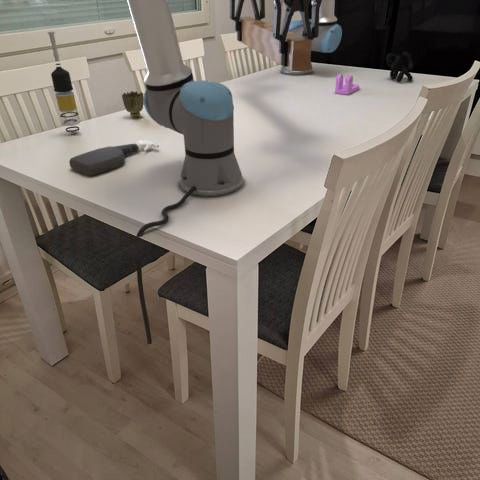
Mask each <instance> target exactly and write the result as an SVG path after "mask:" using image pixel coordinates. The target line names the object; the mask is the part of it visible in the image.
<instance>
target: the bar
mask: <svg viewBox="0 0 480 480" xmlns="http://www.w3.org/2000/svg"><path fill="white" fill-rule="evenodd" d="M239 21H240V22H241V26H242V41H238V31H236V41H238V42H240V43H242V44H243V45H245V46H247V47H248V48H250V49H252V50H253V51H256V52H257V53H259V54H261V55H262V56H264V57H266V58H268V59H270V60H271V61H273V62H275V63H276V64H278V65H280V66H282V65H281V56H282V54H280V53H279V41H278V40H277V39H274V38H273V24H272V23H268V22H265V21H263V20H258V19H255V17H252V16H240V20H239ZM281 28H282V27H280V31H281ZM285 41H287V42H288V52H287V67H285V68H287V69H289V70H291V71H303V70H310V60H311V57H312V56H311V55H312V51H311V45H312V40H311V39H308V38H305V37H303V36H300V35H297V34H295V33H292V32H290V31H288V33H287V36H286V40H285Z"/></svg>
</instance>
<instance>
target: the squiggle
mask: <svg viewBox="0 0 480 480" xmlns="http://www.w3.org/2000/svg"><path fill="white" fill-rule="evenodd" d="M401 57H402V59H401ZM391 59H392V60H391ZM393 60H394V61H393ZM385 61H386V64H387V67H390V68H391V70H390V72H389V78H390V79H391V80H395V79H396V81H397V82H399V83H400V82H402V81H403V79H404V76H406V78H407V80H408V81H412V80H413V79H414V77H413V75H412V74H411V73H410V72H409V71H410V70H412V69H413V68H414V64H413V61H412V57H411V54H410V53H409V52H408V51H403V53H402V54H401V55H396V54H394V53H392V52H390V53H387V55H386V57H385ZM406 62H407V65H408V66H407V67H405V66H404V65H405V64H406ZM400 70H401V71H400Z"/></svg>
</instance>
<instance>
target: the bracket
mask: <svg viewBox="0 0 480 480" xmlns="http://www.w3.org/2000/svg"><path fill="white" fill-rule="evenodd" d="M344 78H345V77H344V74H340V73H338V74H337V75H336V79H335V88H334V93H335V94H339V95H346V96H348V95H350V94H352V93H354V92H356V91H358V90H359V89H360V85H359V84H358V83H354V76H353V75H350V74H349V75H346V78H345V84H344Z"/></svg>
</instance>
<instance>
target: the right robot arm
mask: <svg viewBox="0 0 480 480" xmlns="http://www.w3.org/2000/svg"><path fill="white" fill-rule="evenodd" d="M244 3H245V0H238V1H237V5H236V0H229V19H230V20H231V21H234V30H235V32H237V31H238V40H237V41H238V42H239V41H242V26H241V22H240V21H239V20H240V17H242V11H243V7H244ZM250 3H251V7H252V11H253V14H254V18H255V19H258V20H260V21H262V20H263V19H265V18H266V6H265V5H266V0H259V1H258V2H257V0H250ZM258 3H259V6H258ZM335 3H336V0H322V2H321V5H320V11H319V33H318V37H317V38H314V39H313V40H312V45H311V52H319V53H323V54H324V53H329V54H330V53H333V52H335V51H336V50H337V48H338V47H339V45H340V43H341V40H342V36H343V29H342V26H341V25H339V24H338V18H337V16H336V15H335V5H336V4H335ZM309 21H310V27H311V22H312V18H309ZM288 31H290V32H292V33H295V34H297V35H300V36H303V37H305V34H304V29H303V23H302V19H298V20H291V23H290V26H289V30H288ZM280 72H281V73H282V74H284V75H289V76H305V75H310V74H312V73H313V64H312V61H311V59H310V70H303V71H291V70H289V69H287V68H285V67H284V66H282V65H281V67H280Z"/></svg>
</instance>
